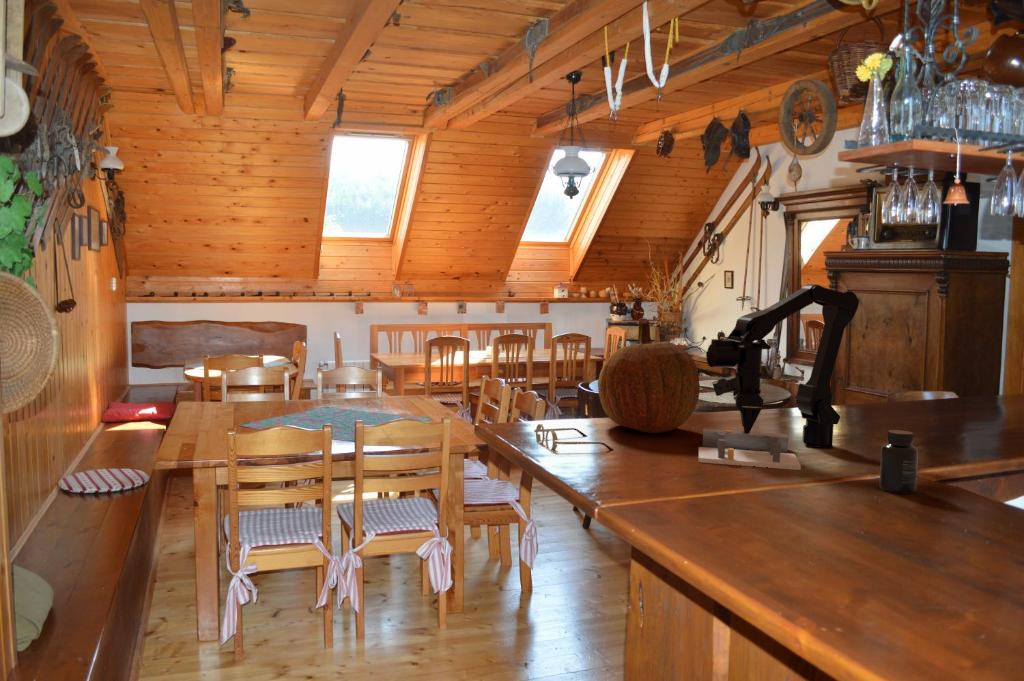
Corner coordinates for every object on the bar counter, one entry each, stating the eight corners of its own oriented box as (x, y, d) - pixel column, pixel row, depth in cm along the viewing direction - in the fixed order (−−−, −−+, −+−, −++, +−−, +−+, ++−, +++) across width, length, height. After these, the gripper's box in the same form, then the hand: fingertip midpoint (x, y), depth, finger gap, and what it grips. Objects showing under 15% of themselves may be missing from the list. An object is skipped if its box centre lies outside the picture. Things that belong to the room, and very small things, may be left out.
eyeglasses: (531, 440, 210) (532, 420, 209) (587, 437, 214) (587, 418, 214) (556, 455, 194) (556, 434, 193) (615, 452, 198) (616, 431, 198)
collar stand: (794, 458, 196) (795, 437, 195) (800, 470, 184) (801, 447, 183) (698, 450, 200) (699, 430, 200) (698, 462, 189) (699, 440, 188)
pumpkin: (575, 423, 231) (579, 315, 228) (658, 418, 242) (662, 315, 239) (626, 443, 206) (631, 323, 203) (716, 437, 217) (722, 322, 214)
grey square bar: (785, 450, 205) (786, 433, 205) (787, 453, 202) (788, 436, 201) (702, 444, 210) (703, 427, 210) (702, 447, 206) (703, 430, 206)
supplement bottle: (913, 487, 172) (917, 430, 170) (917, 496, 165) (922, 436, 164) (877, 484, 174) (881, 427, 173) (880, 492, 167) (884, 433, 166)
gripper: (714, 361, 215) (711, 421, 216) (715, 370, 197) (712, 435, 198) (759, 363, 212) (756, 423, 214) (765, 372, 194) (761, 438, 196)
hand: (745, 429), depth 205 cm, fingers open, 9 cm apart
